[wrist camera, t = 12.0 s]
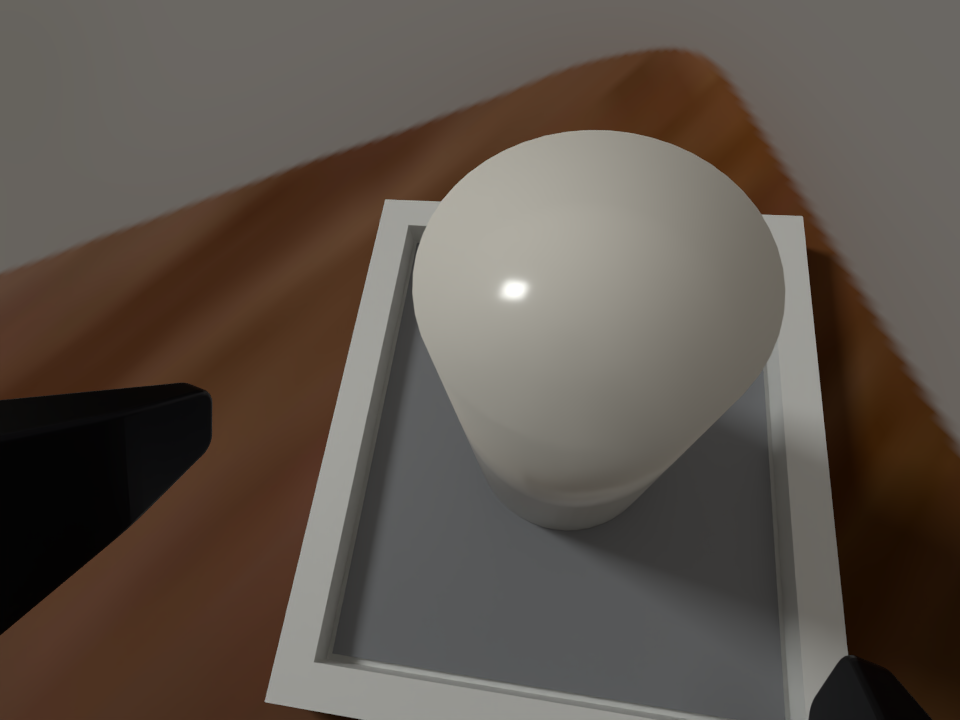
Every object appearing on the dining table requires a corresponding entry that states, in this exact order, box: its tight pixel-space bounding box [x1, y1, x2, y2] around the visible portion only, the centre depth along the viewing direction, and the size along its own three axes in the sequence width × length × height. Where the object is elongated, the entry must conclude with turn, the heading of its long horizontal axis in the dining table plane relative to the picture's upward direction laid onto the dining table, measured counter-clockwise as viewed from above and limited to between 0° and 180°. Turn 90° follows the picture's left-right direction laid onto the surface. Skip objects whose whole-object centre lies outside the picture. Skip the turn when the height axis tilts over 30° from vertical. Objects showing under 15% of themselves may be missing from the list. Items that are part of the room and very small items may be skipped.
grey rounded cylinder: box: [412, 130, 785, 531], centre depth 14 cm, size 6×6×11 cm
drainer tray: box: [265, 200, 848, 720], centre depth 19 cm, size 18×16×2 cm
